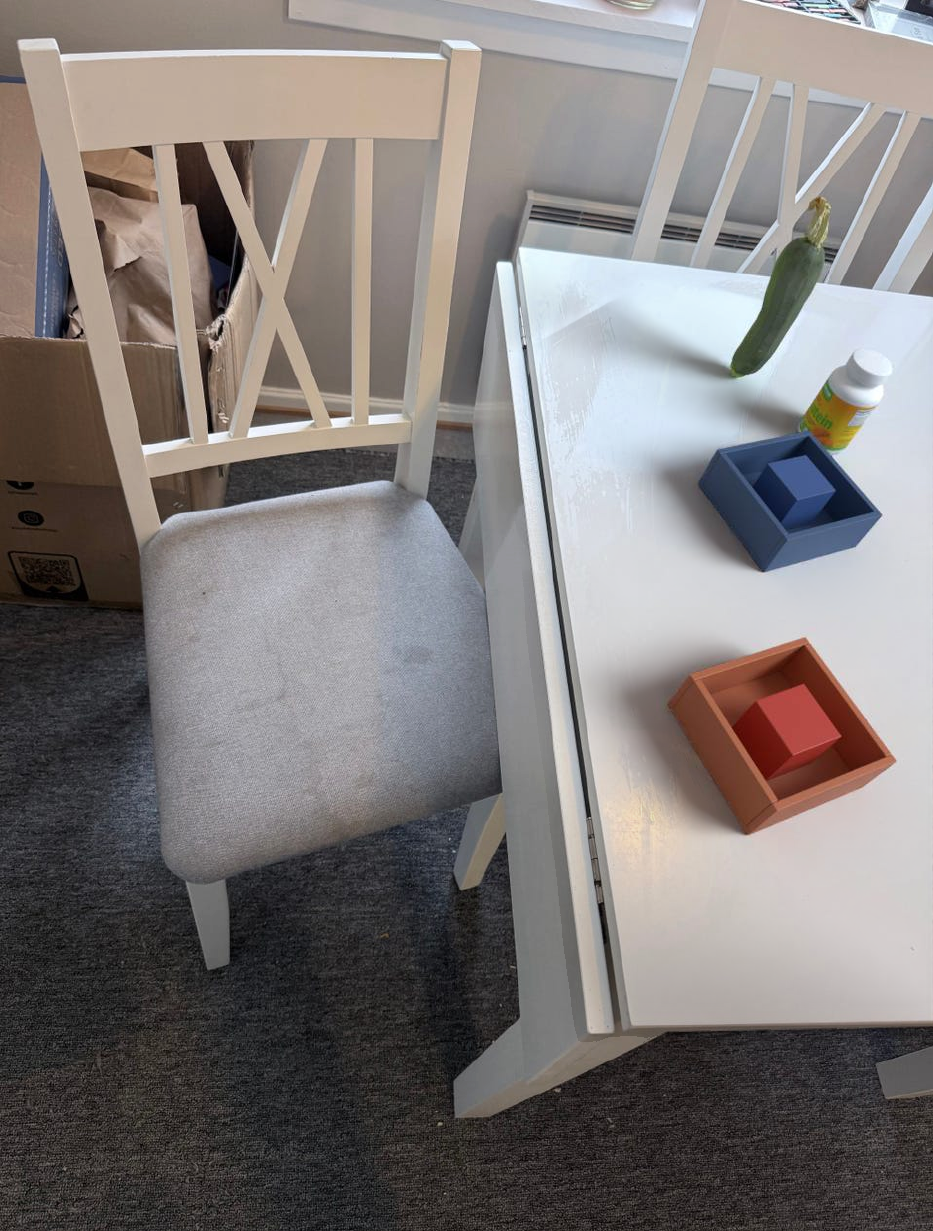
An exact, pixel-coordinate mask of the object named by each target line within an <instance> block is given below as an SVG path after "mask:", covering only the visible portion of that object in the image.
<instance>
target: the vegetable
mask: <svg viewBox="0 0 933 1231" xmlns="http://www.w3.org/2000/svg"><path fill="white" fill-rule="evenodd" d="M831 208H832V207H831V205H830V203H828V201H827V199H826V198H825V197H824V196H817V197H815V198H813V199H812V200H810V202H809V203H808V209H807V212H811V211H812V210H814V209H816V210H815V211H814V212H813V213H812V215H811V217H810V220H809V222H808V224H807V230H806V232H804V233H803V235H804V236H802V237H797V238H794V239H793V240H791V241H789V243H787V244H786V245H785V247H784V248H783V249H782V250H781V252H780V254H779V255H778V257H777V259H776V260H775V262H774V266H773V269H772V272H771V273H770V274H771V275H770V278H769V281H768V283H767V286H766V289H765V293H764V296H763V300H762V305H761V308H760V311H759V313H758V315H757V317H756V319H755V320H754V322H753V323H752V324H751V326H750V327H749V329H748V331H747V332H746V334H745V335H744V336H743V339H742V341H741V342H740V344H739V345H738V347H737V348H736V349H735V351H734V353H733V355H732V357H731V362H730V364H729V368H730V369H731V371H730V375H731V376H733V377H734V378H737V379H738V378H743V377H745V376H749V375H753V374H756V373H758V372H759V371H760V370H762V368H763V367H764V366H765V365H766V364H767V363H768V361H769V360H770V359H771V358H772V357H773V355H774V354H775V353H776V351H778V350H777V349H778V348H779V346H780V345H781V343H782V342H783V341H784V338H785V337H786V335H787V333H788V332H789V330H790V329H791V327H792V326H793V325H794V323H795V322H796V320H797V318H798V317H799V314H800V313H801V312H802V309H803V307H804V305H805V303H806V302H807V301H808V299H809V298H810V296H811V295H812V293H813V291H814V289H815V287H816V285H817V283H818V281H819V279H820V276H821V274H822V272H823V270H824V265H825V260H826V253H825V249H824V247H823V242H824V241H825V240H826V238H827V236H828V232H829V224H830V223H829V220H830V216H831V211H830V209H831Z"/></svg>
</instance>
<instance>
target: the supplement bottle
mask: <svg viewBox="0 0 933 1231" xmlns="http://www.w3.org/2000/svg"><path fill="white" fill-rule="evenodd" d="M892 372H893V364H892V363H891V361H890V360H889V359H888V358H887V357H886V356H885V355H883V354H882V353H880V352H878V351H876V350H873V349H870V348H858V349H855V350H854V351H853V352H852V354H851V355H850V357H849V358H848V360H847V361H846V363H845V365H841V366H838V367H837V368H835V369H833V371H832V372H831V373H830V375H829V376H828V377H827V379H826V381H825V382H824V384H823V385H822V386H821V388H820V390H819V392H818V393H817V395H816V396H815V398H814V399H813V401H812V402H811V403H810V406H809V407H808V408H807V410H806V411H805V413H804V415H803V416H802V417H801V419H800V420H799V422H798V425H797V433H800V432H805V431H810V432H811V433H812V434H813V435H814V436H815V438H816V439H817V440H818V441H819V442H820V443H821V445H822V446H823V447H824V448H825V449H826V450H827V451H828V453H829V454H830V455H836V454H840V453H841V452H843V451H845V450H846V448H847V447H848V446H849V445H850V443H851V442H852V441H853V440H854V438H855V437H856V435H857V434H858V432H859V431H860V430H861V428H862V427H863V426H864V425H865V423H866V421H867V420H868V418H870V415H872V413H873V412H874V410H875V409H876V407H878V405H879V403H880V402H881V400H882V399H883V396H884V390H885V389H884V386H883V385H884V383H886V382H887V380H888V378H889V377H890V376H891V374H892Z"/></svg>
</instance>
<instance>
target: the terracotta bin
mask: <svg viewBox="0 0 933 1231" xmlns="http://www.w3.org/2000/svg"><path fill="white" fill-rule="evenodd" d="M801 684H804V685H805V686H806V688H807V689H808V690H809V692H810V693H811V695H812V696H813V697H814V699H815V700H816V702H817V703H818V704H819V706H820V707H821V708H822V710H823V711H824V713H825V714H826V715H827V717H828V718H829V720H830V721H831V722H832V724H833V725H834V727H835V728H836V729H837V731H838V732H839V734H840V735H841V737H840V738H839V739H838V740H837V741H836V742H835V743H833V744H832V745H831V746H830V747H829V748H828V749H827V750H825V751H824V752H823V753H822V754H821V755H820V756H818V757H817V758H816V759H815V760H814V761H813V762H812V763H810V764H809V765H806V766H804V767H801V768H799V769H796V770H794V771H791V772H789V773H786V774H784V775H781V776H779V777H776V778H774V779H771V780H769V781H765V779H764V778H763V776H762V774H761V773H760V771H759V770H758V768H757V767H756V765H755V764H754V762H753V760H752V759H751V757H750V756H749V754H748V753H747V751H746V750H745V748H744V746H743V745H742V743H741V742H740V740H739V739H738V737H737V736H736V734H735V732H734V731H733V729H732V728H731V727H732V726H733V725H734V724H735V723H736V722H737V721H738V720H739V719H740V717H741V716H742V715H743V714H744V713H745V712H746V711H747V710H748V709H749V708H750V706H751V705H752V704H753V703H754V702H755V701H756V700H759V699H762V698H764V697H767V696H770V695H773V694H776V693H779V692H781V691H784V690H787V689H790V688H793V687H796V686H798V685H801ZM667 706H668V708H669V709H670V711H671V712H672V714H673V716H674V717H675V719H676V720H677V722H678V724H679V725H680V727H681V729H682V730H683V732H684V734H685V735H686V737H687V738H688V740H689V742H690V744H691V745H692V748H694V750H695V752H696V753H697V755H698V756H699V758H700V760H701V761H702V763H703V765H704V766H705V768H706V770H707V772H708V773H709V775H710V776H711V778H712V779H713V781H714V783H715V784H716V786H717V788H718V789H719V791H720V793H721V795H722V796H723V797H724V799H725V802H727V805H728V806H729V807H730V809H731V810H732V812H733V814H734V816H735V817H736V819H737V821H738V823H739V824H740V825H741V827H742V829H743V830H744V832H745V834H746V835H747V836H750V835H752V834H755V833H758V832H761V831H762V830H764V829H767V828H769V827H772V826H774V825H776V824H779V823H781V822H783V821H786V820H788V819H791V818H793V817H795V816H798V815H800V814H802V813H805V812H808V811H810V810H812V809H814V808H817V807H819V806H821V805H824V804H827V803H828V802H829V803H830V802H831V801H834V800H835V799H838V798H841V797H843V796H845V795H848V794H850V793H852V792H855V791H858V790H860V789H863V788H864V787H865V786H867V785H868V784H869V783H871V782H872V781H873V780H875V779H876V778H877V777H879V776H880V775H881V774H883V772H884V773H885V771H887V770H888V769H889V768H891V767H892V766H894V764H896V763H897V762H898V761H897V759H896V758H895V756H894V755H893V754H892V752H891V751H890V749H889V748H888V746H887V745H886V744H885V743H884V741H883V740H882V739H881V737H880V736H879V734H878V733H877V732H876V731H875V729H874V728H873V726H872V725H871V724H870V722H869V721H868V719H867V718H866V717H865V716H864V714H863V713H862V711H861V710H860V709H859V707H858V706H857V704H856V703H855V702H854V701H853V699H852V698H851V696H849V693H848V692H847V691H846V690H845V688H844V687H843V686H842V685H841V683H840V682H839V680H838V679H837V678H836V676H835V675H834V674H833V672H832V671H831V669H830V668H829V667H828V665H827V664H826V662H824V660H823V659H822V657H821V656H820V654H819V653H818V652H817V651H816V649H815V648H814V646H813V645H812V644H811V643H810V641H809V640H808V638H807V637H806V636H804V637H801V638H797V639H795V640H791V641H788V642H786V643H782V644H779V645H776V646H773V647H770V648H767V649H763V650H761V651H757V652H754V653H751V654H748V655H745V656H742V657H738V658H735V659H733V660H729V661H727V662H723V663H720V664H717V665H714V666H711V667H708V668H705V669H701V670H698V671H695V672H692V673H690V674H688V676H687V677H686V679H685V680H684V681H683V683H682V684H681V685H680V686H679V688H678V689H677V691H676V692H675V693H674V694H673V696H672V697H671V699H670V700H669V701H668V703H667Z"/></svg>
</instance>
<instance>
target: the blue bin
mask: <svg viewBox="0 0 933 1231" xmlns="http://www.w3.org/2000/svg"><path fill="white" fill-rule="evenodd" d="M804 455H806V456H807V457H808V458H809V459H810V461H811V462H812V463H813V464H814V465H815V466H816V468H817V469H818V470H819V471H820V472H821V474H822V475H823V476H824V477H825V478H826V479H827V481H828V482H829V483H830V484H831V485H832V486H833V488H834V489H835V490H836V491H835V492H834V494H833V495H832V496H831V498H830V499H829V500H828V502H827V503H826V504H825V506H824V507H823V508H822V510H821V511H820V512H819V514H818V515H817V516H816V518H815V519H814V520H813V522H812V523H811V524H809V525H805V526H802V527H798V528H794V529H790V530H785V529H784V527H783V526H782V525H781V524H780V522H779V521H778V520H777V518H776V517H775V516H774V515H773V513H772V512H771V511H770V510H769V508H768V507H767V506H766V504H765V503H764V502H763V501H762V499H761V498H760V497H759V495H758V494H757V493H756V492H755V490H754V489H753V488H752V487H753V486H754V484H755V483H756V481H757V479H758V478H759V476H760V475H761V473H762V472H763V470H764V468H765V467H766V465H767V464H768V463H772V462H777V461H782V460H786V459H791V458H795V457H800V456H804ZM697 485H698V486H699V487H700V489H701V490H702V491H703V494H705V496H706V497H707V498H708V499H709V501H710V502H711V504H712V505H713V506H714V507H715V509H716V510H717V512H718V513H719V515H720V516H721V517H722V518H723V520H724V521H725V523H726V525H728V527H729V528H730V529H731V530H732V532H733V533H734V534H735V536H736V537H737V538H738V540H739V542H740V543H741V544H742V545H743V547H744V548H745V549H746V551H747V552H748V553H749V555H750V556H751V558H752V559H753V560H754V562H755V563H756V564H757V565H758V567H759V568H760V570H761V571H762V573H767V572H772V571H775V570H779V569H781V568H785V567H789V566H792V565H796V564H799V563H802V562H803V563H804V562H806V561H810V560H814V559H817V558H822V557H824V556H828V555H831V554H835V553H839V552H843V551H845V550H850V549H853V548H856V547H857V546H859V544H860V543H861V541H862V540H863V539H864V538H865V537H866V536H867V534H868V533H869V532H870V531H871V530H872V529H873V527H875V525H876V524H877V522H879V520H880V519H881V518H882V517H883V513H882V512H881V511H880V510H879V509H878V508H877V506H875V504H874V503H873V501H872V500H871V499H870V498H869V497H868V496H867V495H866V494H865V493H864V491H863V490H862V489H861V488H860V487H859V486H858V485H857V484H856V482H855V481H854V480H853V479H852V478H851V477H850V475H848V472H846V471H845V470H844V469H843V467H842V466H841V465H840V464H839V463H838V461H837V460H836V459H835V458H834V457H833V456H832V454H829V453H828V451H827V450H826V449H825V448H824V447H823V446H822V445H821V443H820V442H819V441H818V440H817V439H816V438H815V436H814V435H813V434H812V433H811V432H810V431H805V432H800V433H798V432H795V433H791V434H785V435H781V436H776V437H772V438H771V437H770V438H766V439H761V440H757V441H756V440H755V441H752V442H751V441H750V442H747V443H742V444H741V443H740V444H737V445H732V446H727V447H722V448H718V449H716V450H715V452H714V453H713V456H712V457H711V459H710V461H709V463H708V464H707V466H706V468H705V470H704V472H703V474H702V475H701V477H700V479H699V480H698V483H697Z"/></svg>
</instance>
